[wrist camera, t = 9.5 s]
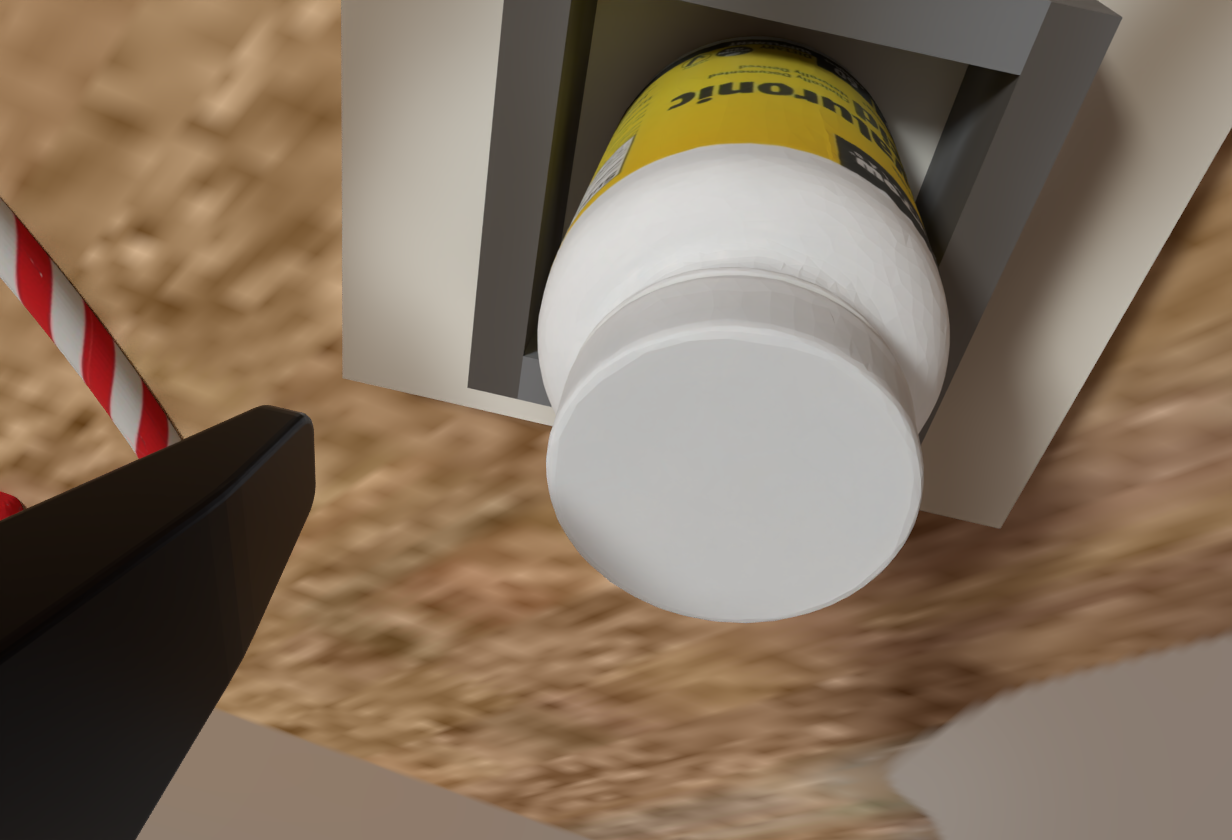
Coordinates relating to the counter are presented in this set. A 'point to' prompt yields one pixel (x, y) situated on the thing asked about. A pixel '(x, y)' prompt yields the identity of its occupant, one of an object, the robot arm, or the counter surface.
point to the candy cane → (79, 343)
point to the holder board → (920, 126)
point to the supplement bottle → (743, 340)
